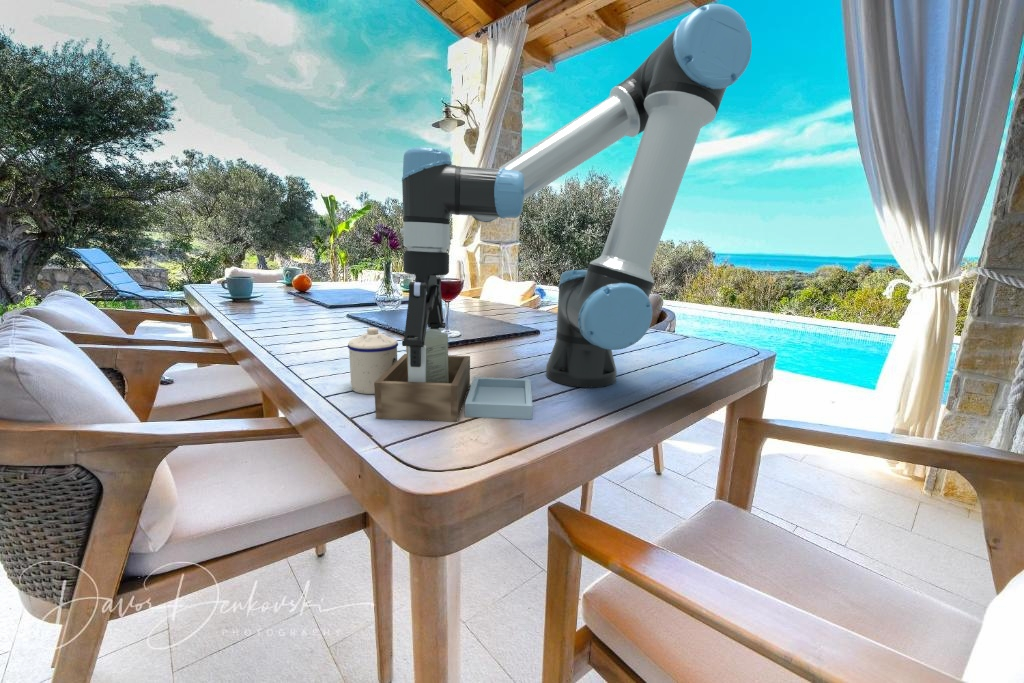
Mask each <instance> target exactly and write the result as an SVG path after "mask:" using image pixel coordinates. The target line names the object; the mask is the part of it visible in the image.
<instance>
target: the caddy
mask: <svg viewBox="0 0 1024 683" xmlns="http://www.w3.org/2000/svg"><path fill="white" fill-rule="evenodd" d="M448 375H449V383H425V382H408V376H407V353H403V355H402V356H401V357H400V358H398V359H397V362H396V363H395V364H393V365H392V366H391V367H390V368H389V369H388V370H387V371H386V372H385V373H384V374H383V375H382V376H381V377H380V378H379V379H378V380H377V381H376V382H375V383H374V387H375V394H374V404H375V405H374V407H375V408H374V410H375V419H381V420H382V419H384V420H409V421H433V422H435V421H436V422H458V420H459V417H460V414H461V412H462V409H461V408H463V406H462V405H464V404H465V401H466V398H467V395H468V392H469V389H470V386H471V382H470V381H471V355H451V354H450V355H449V354H448ZM469 385H470V386H469ZM468 388H469V389H468ZM460 411H461V412H460Z"/></svg>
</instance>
